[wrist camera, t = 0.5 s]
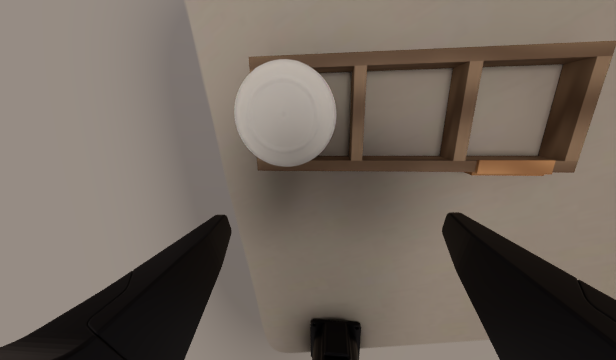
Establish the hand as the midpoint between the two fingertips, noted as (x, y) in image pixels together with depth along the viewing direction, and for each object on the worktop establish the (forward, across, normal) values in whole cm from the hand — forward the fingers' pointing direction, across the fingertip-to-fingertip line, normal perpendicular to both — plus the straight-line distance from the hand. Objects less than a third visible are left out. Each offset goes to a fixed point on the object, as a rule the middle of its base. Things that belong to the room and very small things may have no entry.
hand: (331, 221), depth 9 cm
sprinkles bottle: (+15, +2, 0) cm, 16 cm away
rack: (+15, -7, 0) cm, 17 cm away
